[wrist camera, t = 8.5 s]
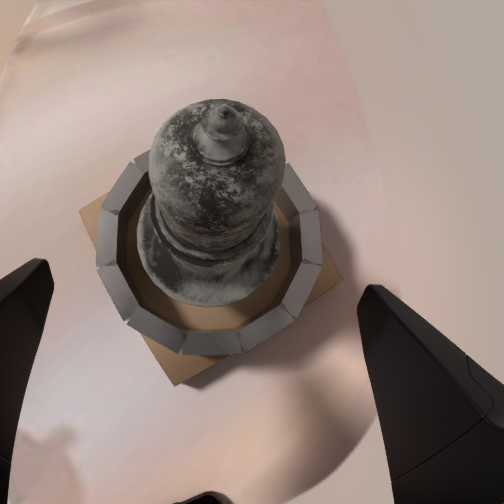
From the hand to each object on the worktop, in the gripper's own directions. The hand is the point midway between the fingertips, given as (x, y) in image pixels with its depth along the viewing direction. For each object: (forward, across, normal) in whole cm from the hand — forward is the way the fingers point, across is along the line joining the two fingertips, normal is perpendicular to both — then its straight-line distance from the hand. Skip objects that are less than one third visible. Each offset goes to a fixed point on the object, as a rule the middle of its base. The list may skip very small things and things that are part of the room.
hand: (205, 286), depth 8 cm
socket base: (+8, 0, +4) cm, 9 cm away
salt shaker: (+7, 0, +4) cm, 8 cm away
